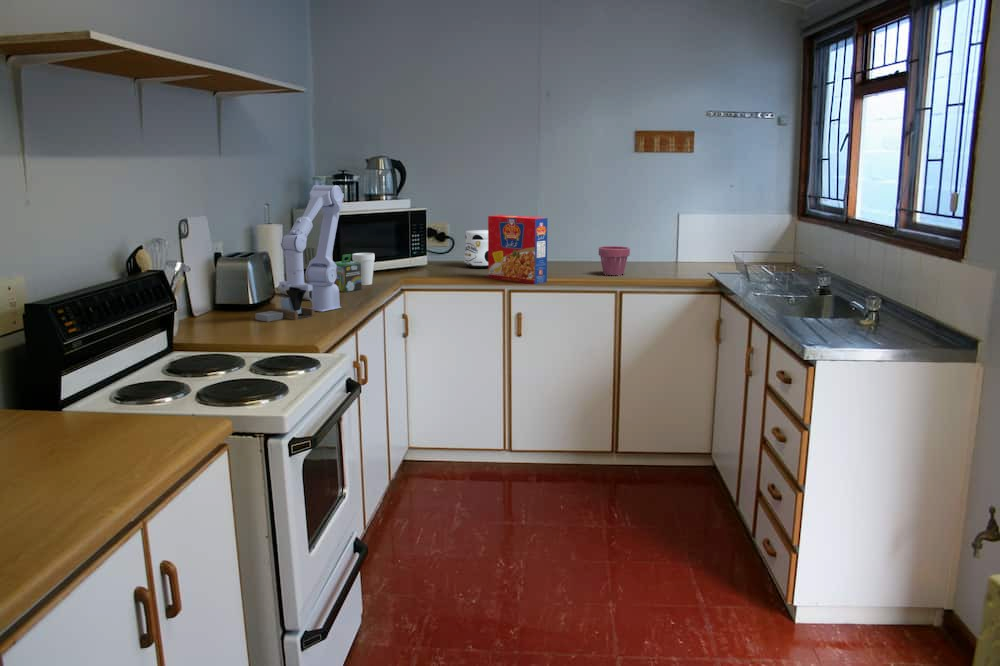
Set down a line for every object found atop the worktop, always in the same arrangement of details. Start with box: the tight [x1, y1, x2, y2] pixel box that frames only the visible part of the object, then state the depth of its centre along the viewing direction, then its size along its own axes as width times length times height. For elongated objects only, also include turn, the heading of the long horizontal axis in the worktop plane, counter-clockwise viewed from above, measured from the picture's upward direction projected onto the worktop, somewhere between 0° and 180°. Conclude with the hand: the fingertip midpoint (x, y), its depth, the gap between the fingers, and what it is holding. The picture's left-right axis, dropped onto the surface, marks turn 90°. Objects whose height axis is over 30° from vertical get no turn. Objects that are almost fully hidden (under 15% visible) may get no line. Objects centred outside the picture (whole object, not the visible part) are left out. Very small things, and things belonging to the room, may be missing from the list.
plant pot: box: [598, 245, 631, 276], centre depth 368 cm, size 14×14×13 cm
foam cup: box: [351, 252, 376, 286], centre depth 342 cm, size 10×9×13 cm
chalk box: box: [333, 253, 363, 293], centre depth 325 cm, size 9×9×15 cm
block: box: [279, 297, 302, 315], centre depth 272 cm, size 4×4×6 cm
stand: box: [254, 310, 284, 323], centre depth 266 cm, size 6×6×2 cm
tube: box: [277, 284, 312, 302], centre depth 310 cm, size 5×5×25 cm
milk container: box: [463, 229, 488, 269], centre depth 395 cm, size 17×17×18 cm
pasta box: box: [487, 214, 548, 285], centre depth 351 cm, size 28×8×28 cm, turn 46°
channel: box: [275, 306, 316, 320], centre depth 271 cm, size 8×10×2 cm
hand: (297, 309), depth 270 cm, fingers closed
